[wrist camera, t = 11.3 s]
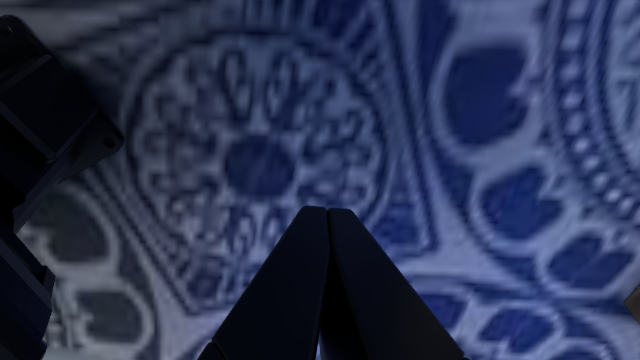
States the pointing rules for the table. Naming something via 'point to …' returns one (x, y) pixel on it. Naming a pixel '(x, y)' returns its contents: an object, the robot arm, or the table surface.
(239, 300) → the robot arm
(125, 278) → the table surface
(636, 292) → the walnut box
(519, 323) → the table surface
